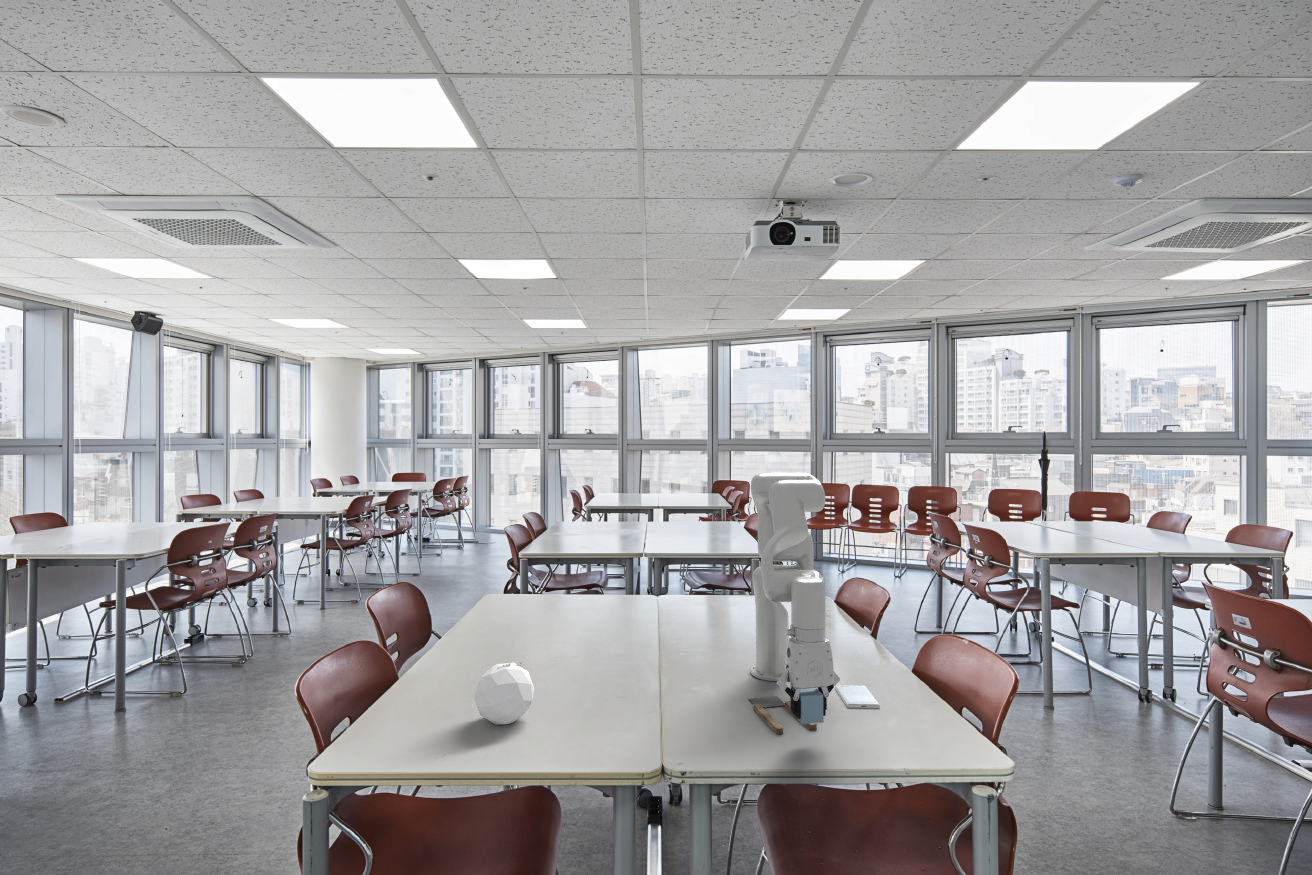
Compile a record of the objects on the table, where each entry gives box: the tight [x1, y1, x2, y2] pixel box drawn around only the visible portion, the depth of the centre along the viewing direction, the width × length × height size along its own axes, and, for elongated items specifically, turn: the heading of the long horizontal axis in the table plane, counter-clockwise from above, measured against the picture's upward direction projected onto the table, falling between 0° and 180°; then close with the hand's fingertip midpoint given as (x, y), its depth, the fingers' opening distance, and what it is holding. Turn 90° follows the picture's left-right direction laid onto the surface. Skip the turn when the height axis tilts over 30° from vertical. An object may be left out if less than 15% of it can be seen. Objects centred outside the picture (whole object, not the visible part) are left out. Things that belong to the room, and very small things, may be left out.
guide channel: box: [747, 695, 818, 735], centre depth 152 cm, size 20×10×1 cm, turn 13°
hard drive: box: [834, 684, 881, 709], centre depth 162 cm, size 2×8×12 cm
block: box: [797, 688, 824, 725], centre depth 137 cm, size 5×5×6 cm
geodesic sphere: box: [473, 661, 535, 725], centre depth 149 cm, size 15×14×14 cm
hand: (808, 713), depth 137 cm, fingers closed on block, 5 cm apart
